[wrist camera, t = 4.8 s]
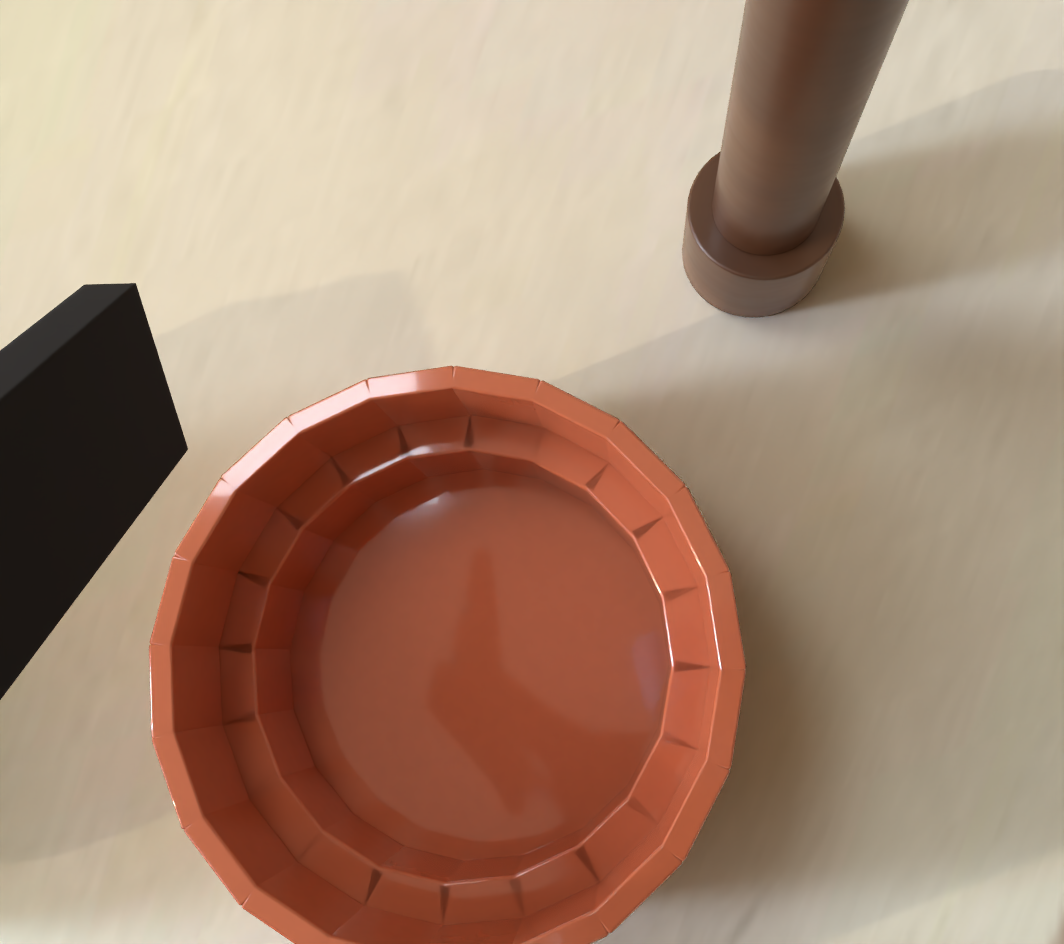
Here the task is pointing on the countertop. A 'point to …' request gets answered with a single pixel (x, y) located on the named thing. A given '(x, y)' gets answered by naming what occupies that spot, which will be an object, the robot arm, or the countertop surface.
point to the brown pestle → (784, 151)
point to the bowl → (446, 668)
